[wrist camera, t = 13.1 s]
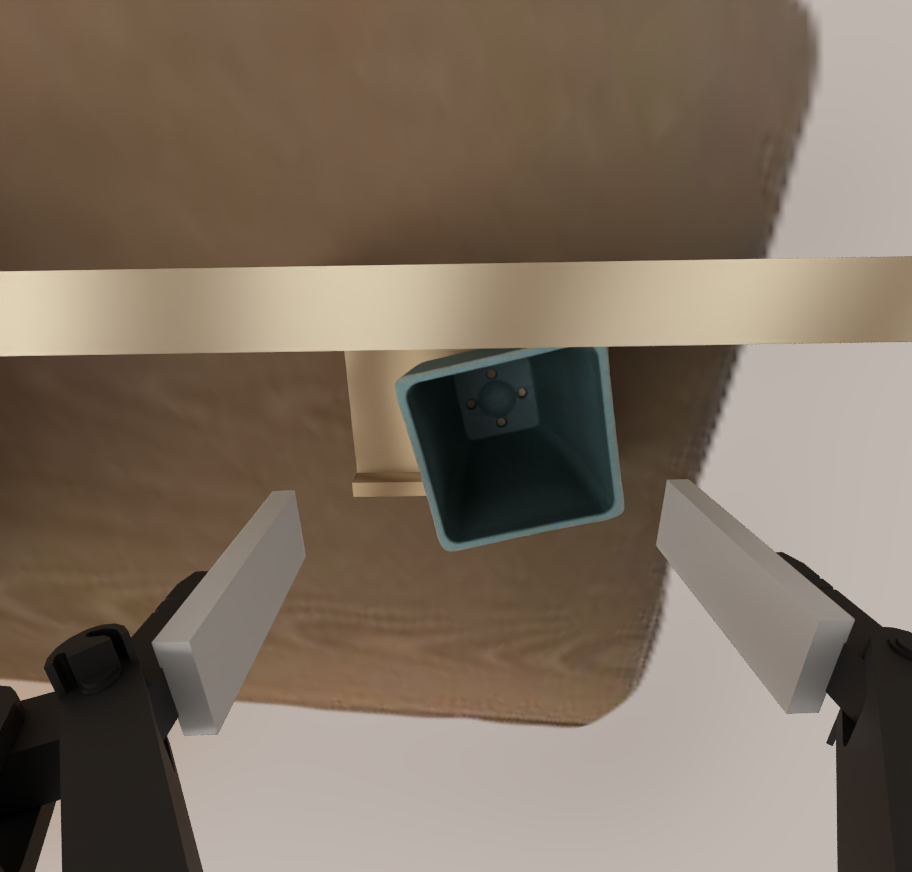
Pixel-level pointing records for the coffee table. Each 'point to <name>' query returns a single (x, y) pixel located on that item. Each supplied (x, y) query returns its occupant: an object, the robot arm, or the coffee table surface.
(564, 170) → the coffee table surface
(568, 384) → the flower pot
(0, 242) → the coffee table surface
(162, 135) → the coffee table surface
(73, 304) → the board
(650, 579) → the coffee table surface
